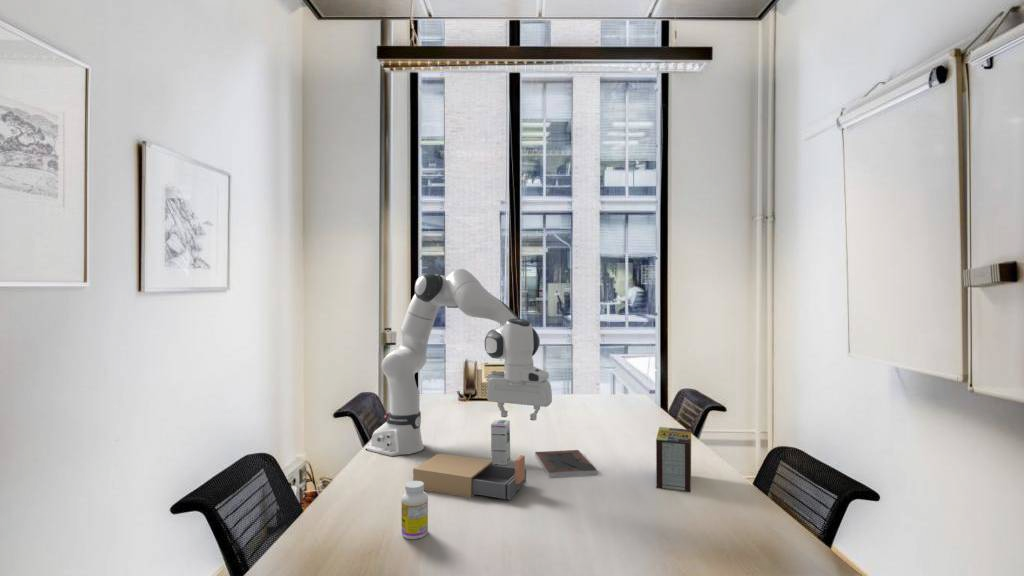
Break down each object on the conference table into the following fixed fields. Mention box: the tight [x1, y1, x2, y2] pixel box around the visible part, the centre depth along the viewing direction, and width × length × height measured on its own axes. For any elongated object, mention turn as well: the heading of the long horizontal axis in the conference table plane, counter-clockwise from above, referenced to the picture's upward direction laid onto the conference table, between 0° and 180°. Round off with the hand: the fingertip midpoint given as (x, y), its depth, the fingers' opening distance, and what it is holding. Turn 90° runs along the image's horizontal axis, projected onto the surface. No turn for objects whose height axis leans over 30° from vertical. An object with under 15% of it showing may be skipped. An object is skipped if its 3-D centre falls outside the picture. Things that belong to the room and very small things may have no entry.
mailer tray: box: [472, 454, 527, 500], centre depth 165 cm, size 22×14×10 cm, turn 68°
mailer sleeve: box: [412, 453, 494, 498], centre depth 170 cm, size 20×16×6 cm
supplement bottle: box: [400, 480, 429, 540], centre depth 135 cm, size 7×7×13 cm
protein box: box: [655, 426, 692, 493], centre depth 171 cm, size 10×15×16 cm
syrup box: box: [490, 419, 511, 466], centre depth 190 cm, size 6×6×14 cm
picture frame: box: [534, 449, 598, 478], centre depth 187 cm, size 16×2×22 cm
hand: (518, 418), depth 161 cm, fingers open, 8 cm apart
